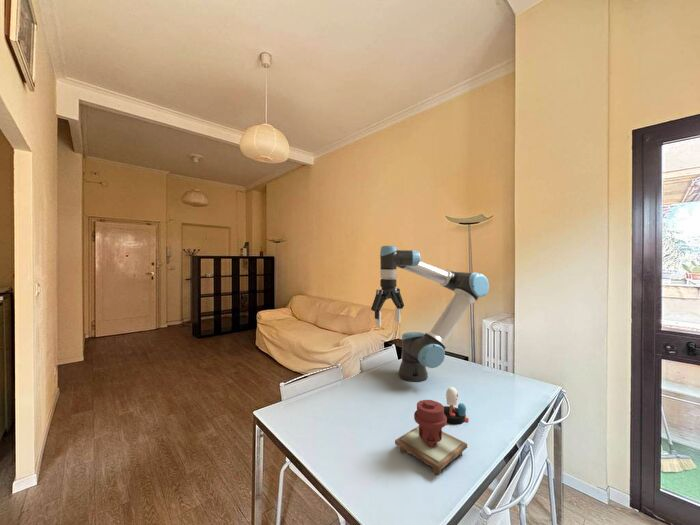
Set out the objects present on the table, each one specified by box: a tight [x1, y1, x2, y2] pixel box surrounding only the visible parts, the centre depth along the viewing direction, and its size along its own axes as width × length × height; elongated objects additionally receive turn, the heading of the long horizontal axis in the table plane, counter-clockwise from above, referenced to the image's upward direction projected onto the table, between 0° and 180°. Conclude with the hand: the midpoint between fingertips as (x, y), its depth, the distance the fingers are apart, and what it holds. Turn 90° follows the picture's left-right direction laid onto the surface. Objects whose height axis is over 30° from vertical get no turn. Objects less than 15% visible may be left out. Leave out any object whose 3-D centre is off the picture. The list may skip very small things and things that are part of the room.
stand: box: [394, 425, 468, 475], centre depth 92 cm, size 16×16×4 cm
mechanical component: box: [413, 399, 448, 447], centre depth 92 cm, size 12×10×10 cm
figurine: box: [443, 386, 470, 426], centre depth 112 cm, size 10×11×12 cm
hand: (388, 323), depth 135 cm, fingers open, 13 cm apart
